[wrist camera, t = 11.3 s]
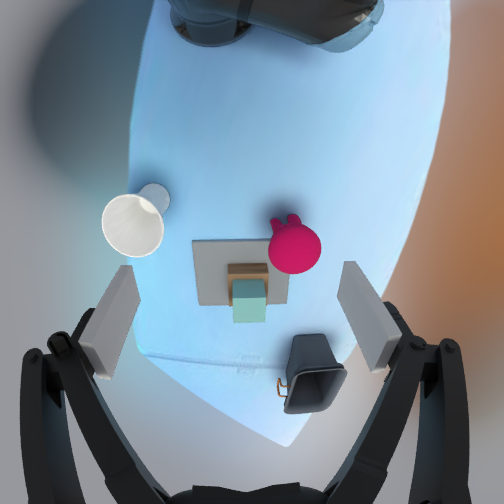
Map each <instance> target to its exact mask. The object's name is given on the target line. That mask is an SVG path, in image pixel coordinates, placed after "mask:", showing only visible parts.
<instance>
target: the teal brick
mask: <svg viewBox="0 0 504 504" xmlns="http://www.w3.org/2000/svg"><path fill="white" fill-rule="evenodd" d="M265 313H266V293H265V286H264V280H263V279H234V280H233V321H234V323H251V322H265Z"/></svg>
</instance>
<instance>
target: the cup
mask: <svg viewBox="0 0 504 504" xmlns="http://www.w3.org/2000/svg"><path fill="white" fill-rule="evenodd" d="M169 204H170V196H169V193H168V191H167V190H166V189H165V188H164V187H163V186H161V185H159V184H156V183H151V184H147V185H146V186H144V187H143V188H142V189H141V190H140V192H139V193H137V194H124V195H120V196H117V197H115V198H114V199H112V200H111V201H110V202H109V203H108V204H107V205H106V207H105V209H104V211H103V214H102V229H103V232H104V235H105V238H106V239H107V241H108V242H109V244H110V245H111V246H112V247H113V248H114V249H115V250H117V251H118V252H120V253H121V254H124V255H126V256H129V257H143V256H147V255H149V254H151V253H153V252H154V251H155V250H156V249H157V248H158V247H159V245H160V244H161V242H162V239H163V235H164V223H163V216H162V215H163V213H164V212H165V211H166V210H167V208H168V207H169Z"/></svg>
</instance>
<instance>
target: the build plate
mask: <svg viewBox="0 0 504 504" xmlns="http://www.w3.org/2000/svg"><path fill="white" fill-rule="evenodd" d="M270 240H271V239H233V240H193V241H192V248H193V258H194V267H195V276H196V284H197V292H198V300H199V305H229V296H228V264H238V263H267V266H268V272H269V281H268V300H267V304H287V295H288V285H289V275H290V274H286V273H283V272H281V271H279V270H278V269H276V268H275V267H274V266H273V265H272V263H271V262H270V259H269V256H268V246H269V243H270Z"/></svg>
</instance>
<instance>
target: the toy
mask: <svg viewBox="0 0 504 504" xmlns="http://www.w3.org/2000/svg"><path fill="white" fill-rule="evenodd" d="M270 223H271V226H272V230H273V233H274V234H273V236H272V238H271V240H270V243H269V246H268V256H269V259H270V262H271V263H272V265H273V266H274V267H275V268H276V269H278V270H279V271H281V272H283V273H286V274H299V273H302V272H305V271H307V270H309V269H310V268H312V267H313V266H314V265H315V264H316V262H317V261H318V259H319V257H320V254H321V242H320V239H319V237H318V236H317V234H316V233H315V232H314V231H313V230H311V229H310V228H308V227H307V226H305V225H303V224H302V223H301V220H300V218H299V217H298V216H297V215H295V214H292V215H289V216H288V224H284V225H283V224H282V223H281V222H280V221H279V220H278V219H276V218H275V219H272V220H271V221H270Z"/></svg>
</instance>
